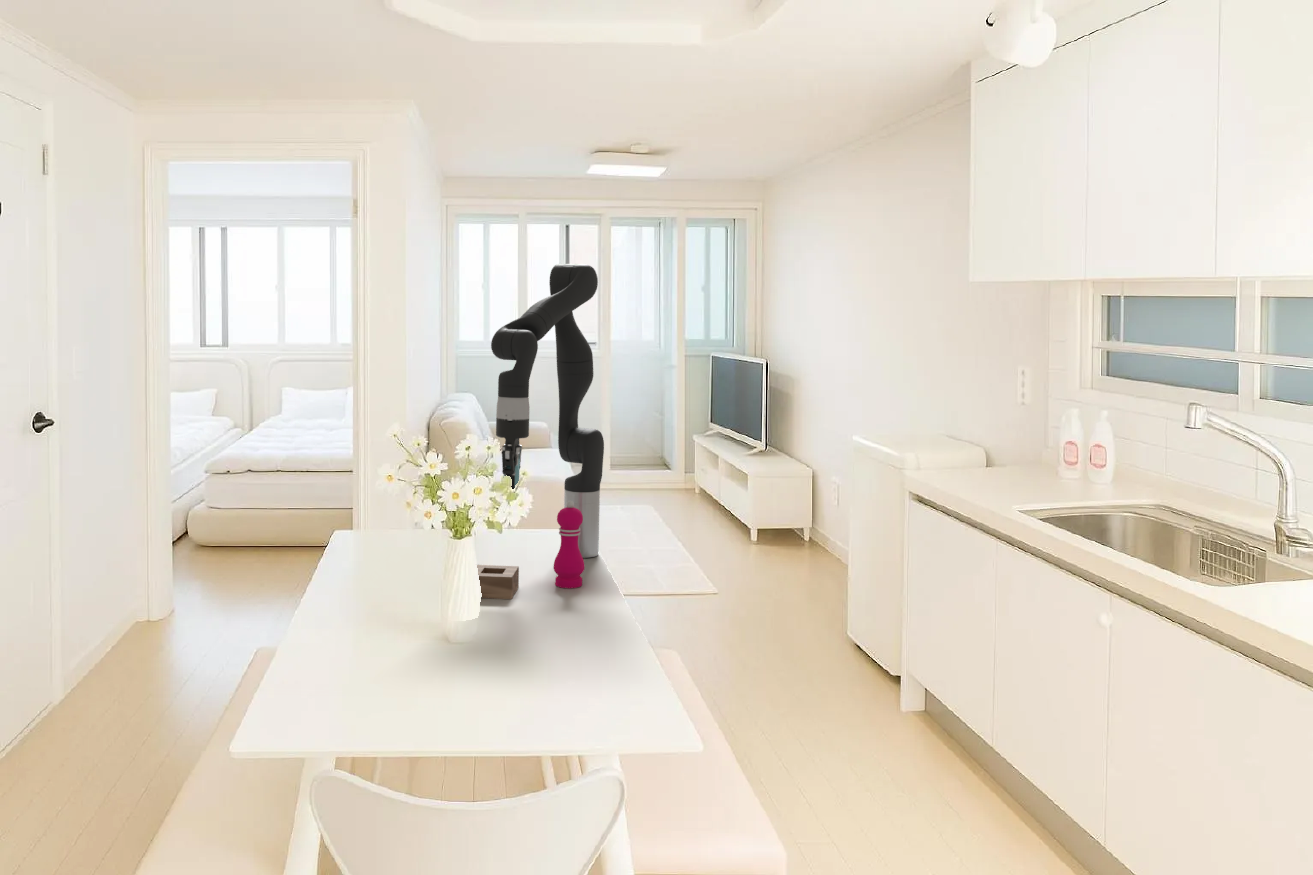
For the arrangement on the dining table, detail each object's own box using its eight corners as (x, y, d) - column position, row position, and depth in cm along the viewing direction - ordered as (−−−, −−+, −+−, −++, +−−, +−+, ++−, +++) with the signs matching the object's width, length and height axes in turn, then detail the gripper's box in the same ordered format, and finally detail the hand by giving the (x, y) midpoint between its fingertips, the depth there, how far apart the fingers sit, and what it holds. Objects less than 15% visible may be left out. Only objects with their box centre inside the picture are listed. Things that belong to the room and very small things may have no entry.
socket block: (475, 585, 253) (475, 564, 252) (518, 587, 252) (518, 566, 252) (466, 597, 243) (466, 575, 242) (511, 599, 242) (511, 577, 242)
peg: (504, 500, 256) (505, 457, 255) (519, 500, 256) (520, 458, 255) (501, 502, 252) (502, 459, 251) (517, 503, 252) (518, 460, 251)
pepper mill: (586, 582, 259) (588, 498, 257) (581, 589, 252) (583, 504, 249) (556, 580, 260) (557, 497, 257) (550, 588, 253) (551, 502, 250)
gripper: (501, 413, 259) (500, 485, 261) (491, 418, 245) (489, 494, 247) (533, 414, 259) (531, 486, 261) (524, 419, 245) (522, 496, 247)
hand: (511, 490), depth 254 cm, fingers closed on peg, 3 cm apart
